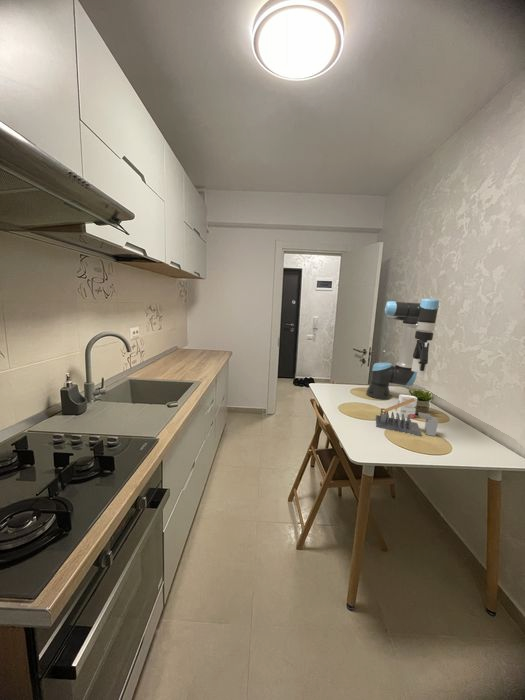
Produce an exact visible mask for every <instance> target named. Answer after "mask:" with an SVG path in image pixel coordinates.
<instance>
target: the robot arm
mask: <svg viewBox="0 0 525 700" xmlns="http://www.w3.org/2000/svg"><path fill="white" fill-rule="evenodd" d="M439 303H440V301H439V299H436V298H422V299H421V301H420V302H405V301H404V302H403V301H394V300H393V301H392V300H391V301H390V300H389V301H386V304H385V307H384V314H385V316H386V317H388V318H390V319H393V320H396V321H402V325H404V328H403V335H402V340H401V345H400V353H399V358H398V361H397V362H396V363H395V365H393V364H392V363H391V362H376V363H374V364H373V365H372V369H371V371H372V372H371V377H370V384H369V386H368V387H367V388H366V395H367V396H368V397H370V398H374V399H378V400H389V399H390V397H391V393H390V389H389V385H390V384H395V385H400V386H404V387H405V386H407V387H411V386H413V385H414V383H415V381H416V378H421V379H423V378H424V377H425V372H426V367H427V364H428V363H429V347H430V343H429V342H428V341H433V340H434V339H433V338H434V332H435V328H436V321H437V315H438V310H439V307H440V306H439V305H440V304H439Z"/></svg>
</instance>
